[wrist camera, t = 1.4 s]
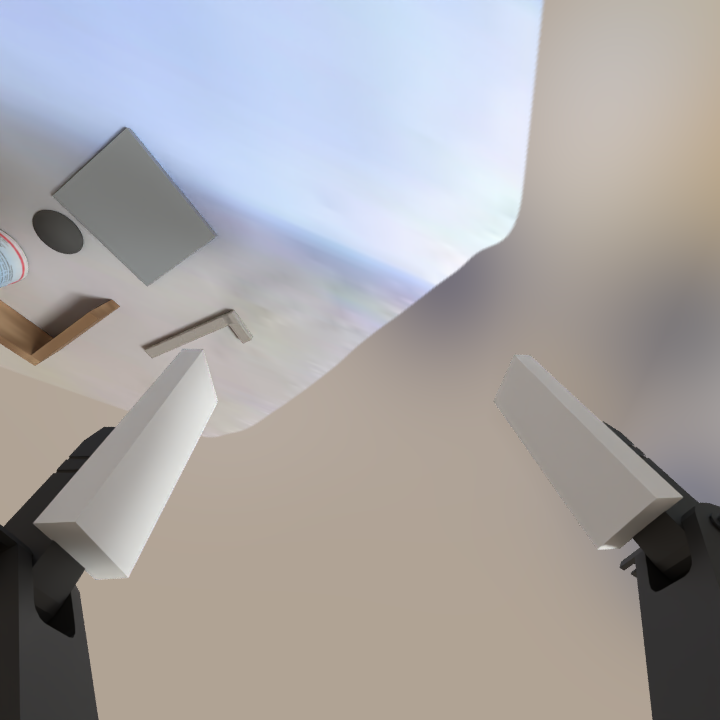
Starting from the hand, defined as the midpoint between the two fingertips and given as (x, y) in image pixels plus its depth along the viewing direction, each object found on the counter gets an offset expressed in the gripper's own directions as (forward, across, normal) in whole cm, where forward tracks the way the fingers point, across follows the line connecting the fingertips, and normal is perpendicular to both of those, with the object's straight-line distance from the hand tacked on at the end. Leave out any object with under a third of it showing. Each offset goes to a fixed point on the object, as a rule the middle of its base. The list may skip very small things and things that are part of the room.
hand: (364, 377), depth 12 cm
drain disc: (+23, -29, +1) cm, 37 cm away
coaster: (+23, -20, +2) cm, 31 cm away
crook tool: (+23, -18, -12) cm, 32 cm away
